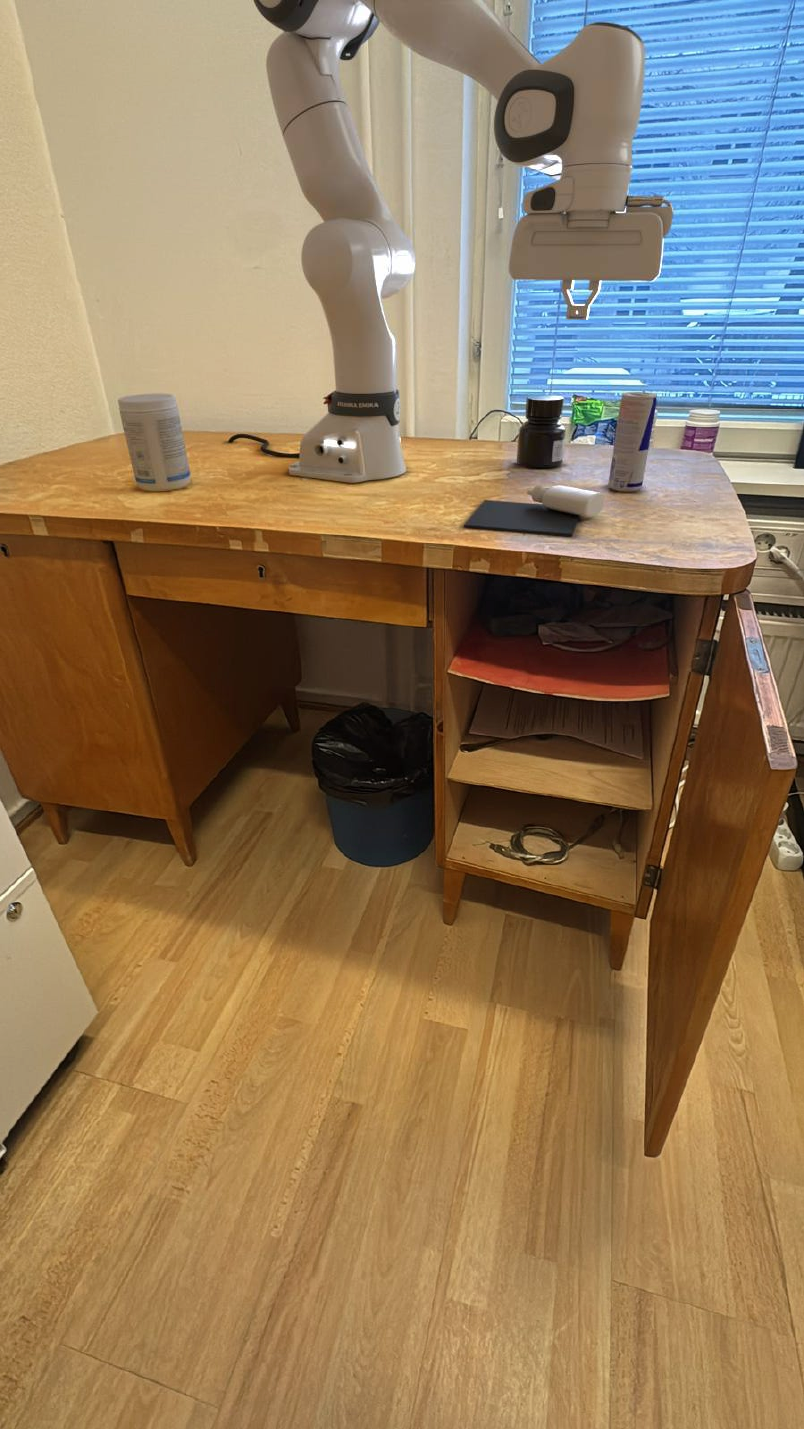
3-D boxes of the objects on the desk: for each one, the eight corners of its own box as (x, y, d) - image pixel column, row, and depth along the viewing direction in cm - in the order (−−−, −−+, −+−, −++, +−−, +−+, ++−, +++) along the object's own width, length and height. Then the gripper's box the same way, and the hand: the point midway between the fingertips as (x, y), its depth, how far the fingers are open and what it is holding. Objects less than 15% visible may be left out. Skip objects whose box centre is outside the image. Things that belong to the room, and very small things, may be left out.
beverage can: (643, 493, 115) (660, 396, 107) (608, 492, 116) (622, 395, 108) (640, 485, 119) (656, 391, 111) (606, 484, 120) (620, 390, 112)
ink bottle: (566, 469, 130) (574, 401, 124) (519, 470, 130) (525, 401, 124) (557, 458, 138) (564, 393, 132) (513, 458, 138) (518, 394, 132)
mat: (463, 527, 100) (463, 524, 100) (484, 502, 111) (484, 500, 111) (571, 536, 96) (572, 533, 96) (582, 509, 107) (582, 507, 107)
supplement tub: (189, 477, 128) (174, 391, 120) (194, 489, 121) (179, 398, 113) (135, 482, 125) (116, 395, 118) (137, 495, 118) (117, 402, 110)
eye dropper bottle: (588, 529, 102) (521, 514, 109) (607, 504, 104) (540, 491, 111) (584, 506, 99) (516, 492, 106) (604, 481, 101) (535, 469, 108)
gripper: (676, 197, 89) (654, 320, 96) (520, 200, 94) (510, 316, 102) (676, 192, 84) (653, 322, 91) (511, 196, 89) (502, 318, 97)
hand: (576, 319), depth 96 cm, fingers closed
